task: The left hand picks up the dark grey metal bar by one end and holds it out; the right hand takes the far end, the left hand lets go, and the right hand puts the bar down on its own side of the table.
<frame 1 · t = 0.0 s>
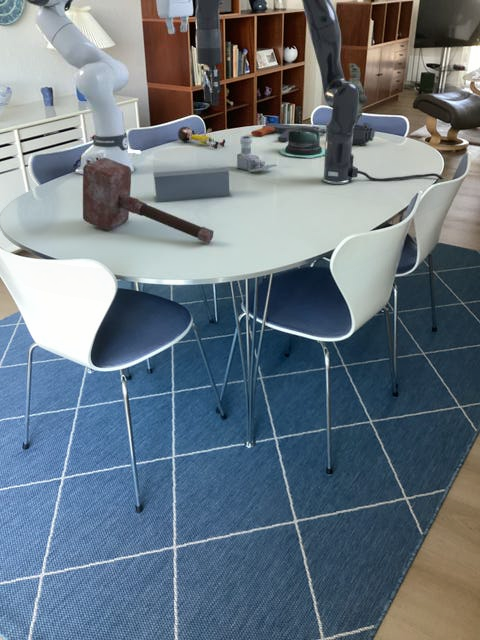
left hand: (177, 32, 183), 48 cm above the table, tool pointing down, fingers open, 8 cm apart
right hand: (211, 103, 173), 29 cm above the table, tool pointing down, fingers open, 8 cm apart
submachine gun: (286, 136, 263), on the table
sledgehammer: (150, 233, 159), on the table
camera: (254, 170, 213), on the table
figurine: (200, 144, 252), on the table
statue: (353, 131, 270), on the table
toy: (355, 144, 247), on the table
bar: (192, 196, 187), on the table
green hat: (303, 152, 236), on the table
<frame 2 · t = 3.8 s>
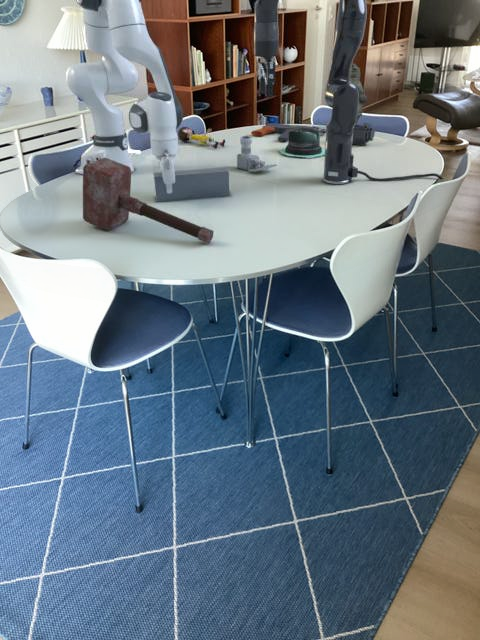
left hand: (168, 189, 184), 3 cm above the table, tool pointing down, fingers closed on bar, 5 cm apart
right hand: (266, 95, 177), 30 cm above the table, tool pointing down, fingers open, 8 cm apart
bar: (192, 196, 187), on the table, touching left hand
everything else where it was.
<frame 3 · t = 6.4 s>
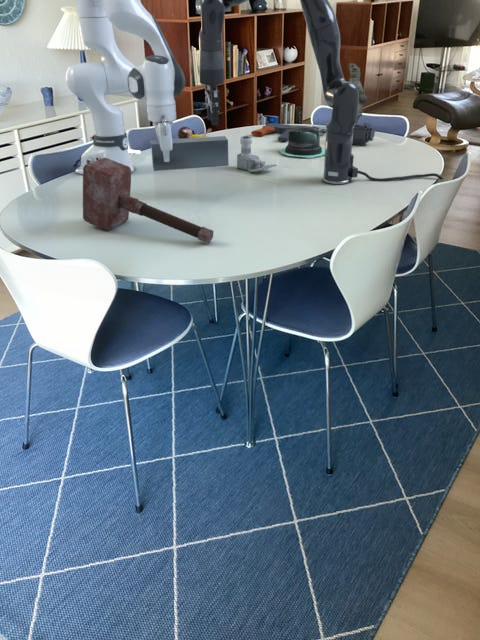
left hand: (165, 158, 179), 13 cm above the table, tool pointing down, fingers closed on bar, 5 cm apart
right hand: (213, 122, 176), 24 cm above the table, tool pointing down, fingers open, 8 cm apart
bar: (190, 166, 182), point 10 cm above the table, touching left hand
everything else where it was.
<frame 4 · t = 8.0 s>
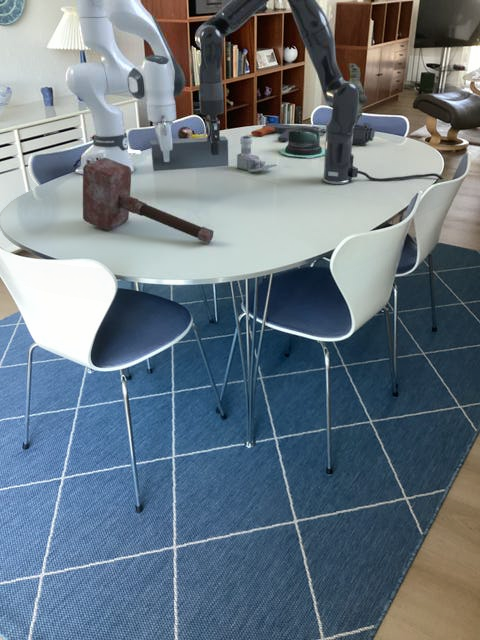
left hand: (165, 158, 179), 13 cm above the table, tool pointing down, fingers closed on bar, 5 cm apart
right hand: (213, 152, 181), 14 cm above the table, tool pointing down, fingers closed on bar, 5 cm apart
bar: (190, 166, 182), point 10 cm above the table, touching left hand, right hand
everything else where it was.
when the left hand's fingers open (13 cm above the table, at t = 9.0 s): bar stays where it is, held by the right hand.
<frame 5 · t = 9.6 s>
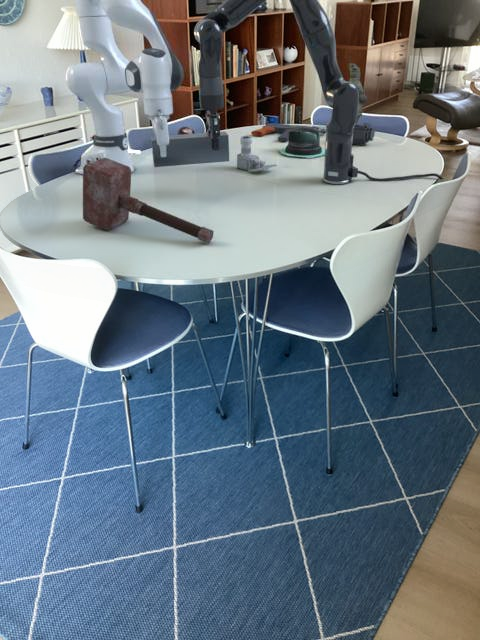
left hand: (162, 152, 178), 15 cm above the table, tool pointing down, fingers open, 8 cm apart
right hand: (214, 147, 180), 16 cm above the table, tool pointing down, fingers closed on bar, 5 cm apart
bar: (191, 162, 181), point 12 cm above the table, touching right hand
everything else where it was.
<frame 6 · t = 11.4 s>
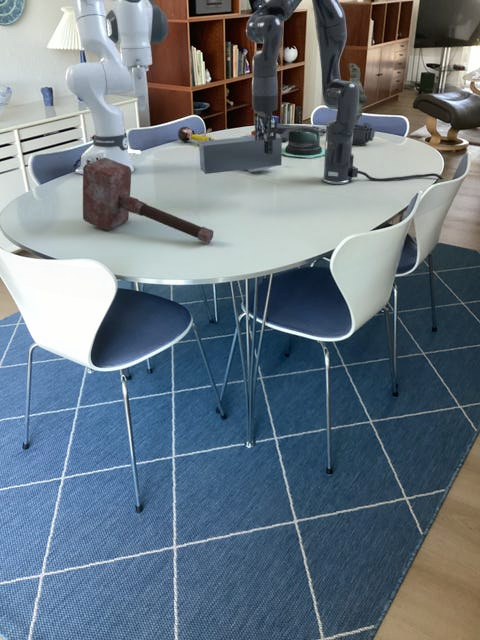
left hand: (142, 108, 170), 29 cm above the table, tool pointing down, fingers open, 8 cm apart
right hand: (265, 151, 170), 17 cm above the table, tool pointing down, fingers closed on bar, 5 cm apart
bar: (241, 167, 170), point 13 cm above the table, touching right hand
everything else where it was.
when the right hand's fingers open (5 cm above the table, at t = 15.0 s): bar stays where it is, on the table.
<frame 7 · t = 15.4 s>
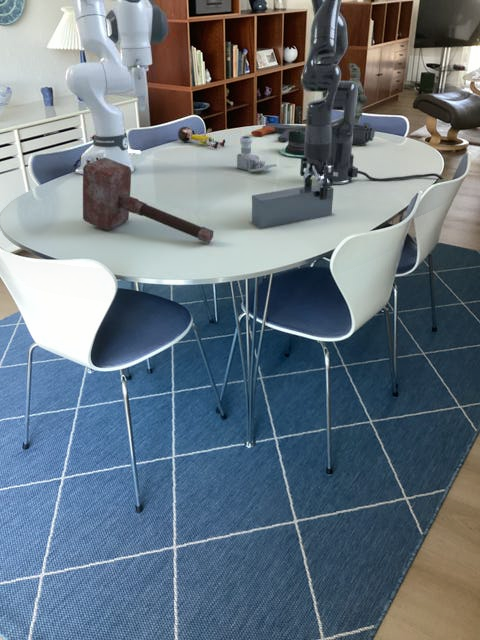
left hand: (141, 108, 170), 29 cm above the table, tool pointing down, fingers open, 8 cm apart
right hand: (315, 195, 166), 6 cm above the table, tool pointing down, fingers open, 8 cm apart
bar: (292, 218, 167), on the table
everything else where it was.
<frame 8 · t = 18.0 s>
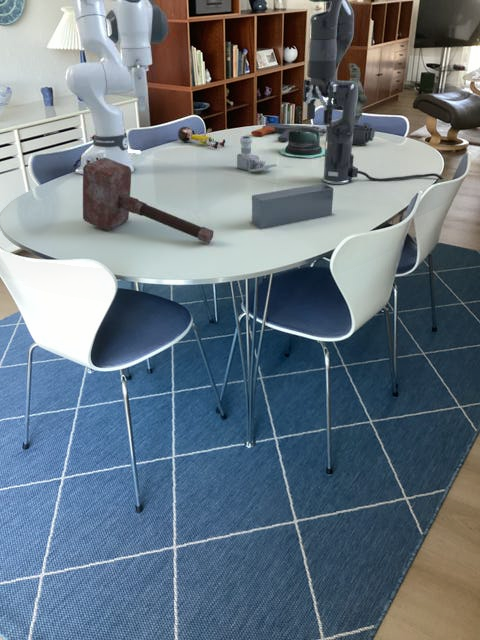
left hand: (141, 108, 170), 29 cm above the table, tool pointing down, fingers open, 8 cm apart
right hand: (318, 121, 156), 27 cm above the table, tool pointing down, fingers open, 8 cm apart
nothing on the table moved.
at the end: bar inside the target area (7.7 cm from its centre), on the table; the left hand is holding nothing; the right hand is holding nothing; bar at rest at the end (0.0 cm/s) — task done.
